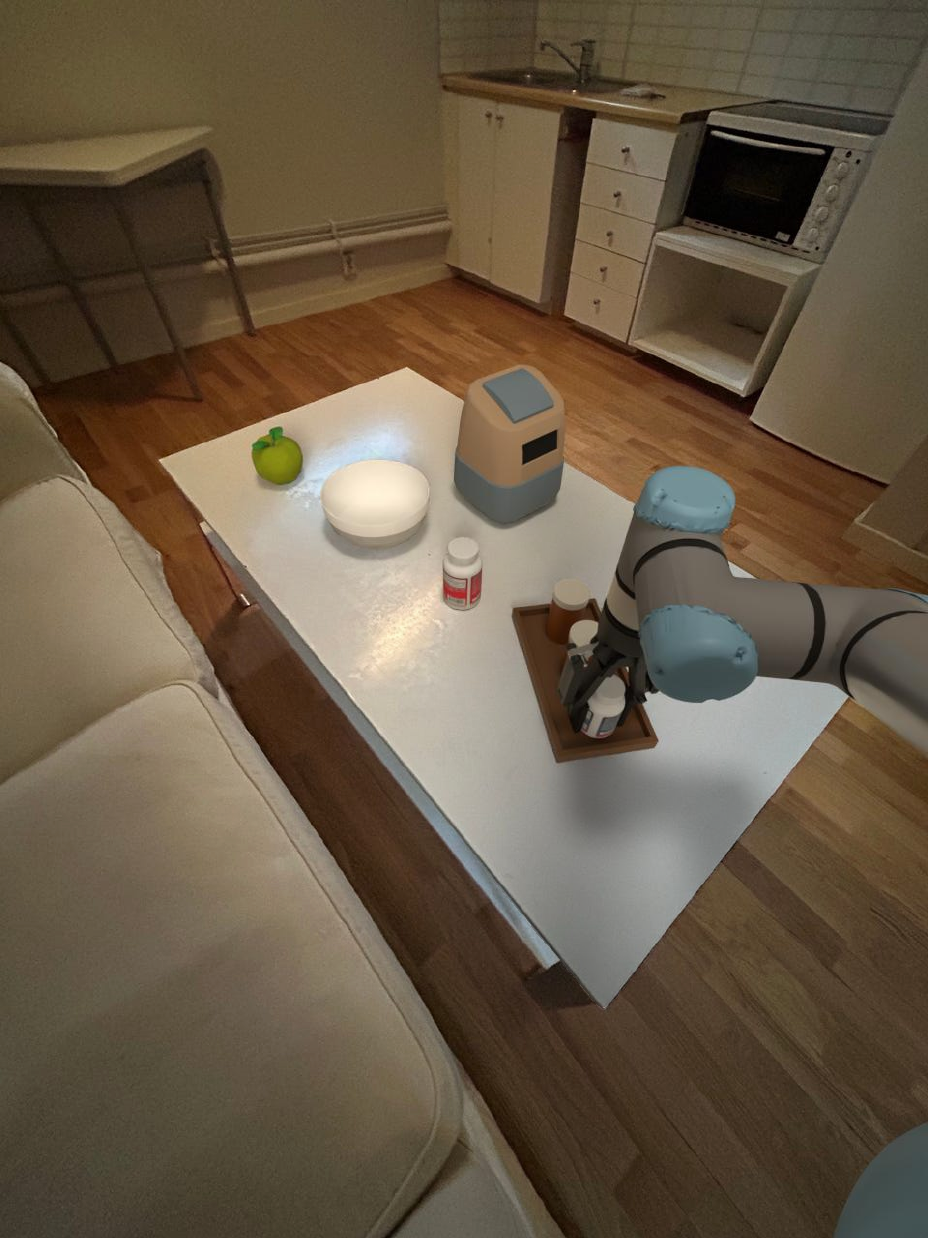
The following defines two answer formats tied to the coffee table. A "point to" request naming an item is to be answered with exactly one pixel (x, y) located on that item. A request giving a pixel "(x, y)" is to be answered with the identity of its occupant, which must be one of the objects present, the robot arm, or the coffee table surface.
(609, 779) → the coffee table surface
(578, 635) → the amber bottle middle
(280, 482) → the fruit
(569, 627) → the amber bottle far
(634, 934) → the coffee table surface
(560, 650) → the tray
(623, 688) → the pill bottle
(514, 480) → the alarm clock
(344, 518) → the bowl
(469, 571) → the pill bottle
